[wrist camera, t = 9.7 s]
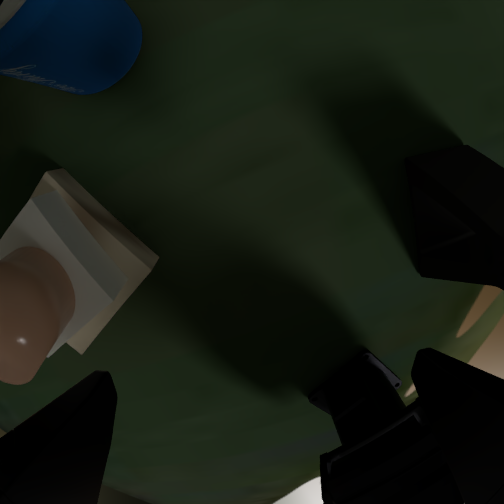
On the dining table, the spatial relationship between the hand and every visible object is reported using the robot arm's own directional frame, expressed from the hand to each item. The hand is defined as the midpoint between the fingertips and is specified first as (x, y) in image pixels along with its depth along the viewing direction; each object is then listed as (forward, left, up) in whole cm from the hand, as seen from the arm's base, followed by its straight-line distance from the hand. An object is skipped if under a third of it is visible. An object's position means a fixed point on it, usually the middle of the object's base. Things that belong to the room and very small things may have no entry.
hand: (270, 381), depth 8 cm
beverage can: (+16, -3, -13) cm, 21 cm away
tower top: (+8, +9, -11) cm, 16 cm away
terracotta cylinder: (+8, +9, -8) cm, 14 cm away
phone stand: (-9, -12, -13) cm, 20 cm away
